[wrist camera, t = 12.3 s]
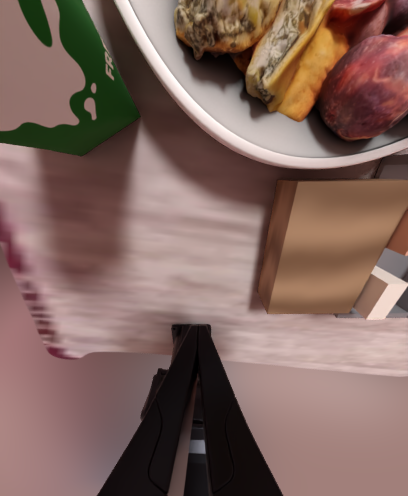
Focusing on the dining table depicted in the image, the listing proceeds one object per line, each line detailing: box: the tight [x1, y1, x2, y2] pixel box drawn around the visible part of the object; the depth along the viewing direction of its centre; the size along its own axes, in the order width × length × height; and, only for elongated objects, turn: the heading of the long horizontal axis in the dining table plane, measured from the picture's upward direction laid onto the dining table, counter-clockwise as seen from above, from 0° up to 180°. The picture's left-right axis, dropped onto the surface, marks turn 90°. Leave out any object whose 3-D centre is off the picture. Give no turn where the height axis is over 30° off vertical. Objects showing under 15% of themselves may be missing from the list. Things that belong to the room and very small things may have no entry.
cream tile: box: [353, 266, 408, 320], centre depth 19 cm, size 5×5×2 cm
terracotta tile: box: [385, 208, 408, 256], centre depth 15 cm, size 5×5×2 cm
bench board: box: [257, 179, 408, 314], centre depth 18 cm, size 15×10×4 cm, turn 1°
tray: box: [333, 154, 408, 318], centre depth 18 cm, size 19×10×3 cm, turn 1°
